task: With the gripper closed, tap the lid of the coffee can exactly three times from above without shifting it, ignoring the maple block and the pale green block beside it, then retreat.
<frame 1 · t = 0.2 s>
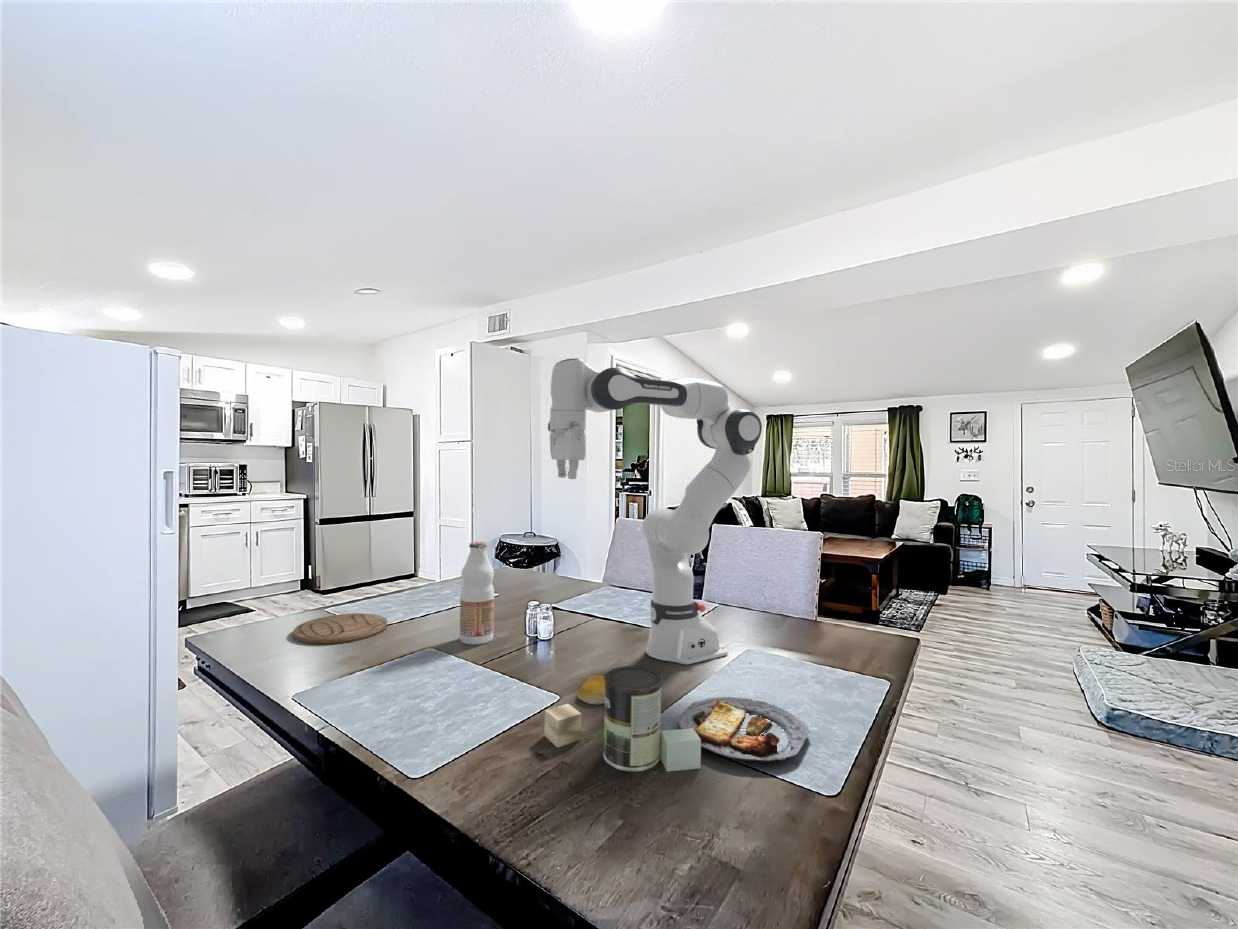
hand: (566, 478, 136), 48 cm above the table, fingers open, 8 cm apart
food plate: (741, 736, 104), on the table
fruit juice: (476, 640, 155), on the table
pale green block: (680, 764, 94), on the table
trivet: (341, 632, 161), on the table
coffee can: (631, 756, 96), on the table
bread roll: (596, 697, 120), on the table
maple block: (562, 738, 102), on the table
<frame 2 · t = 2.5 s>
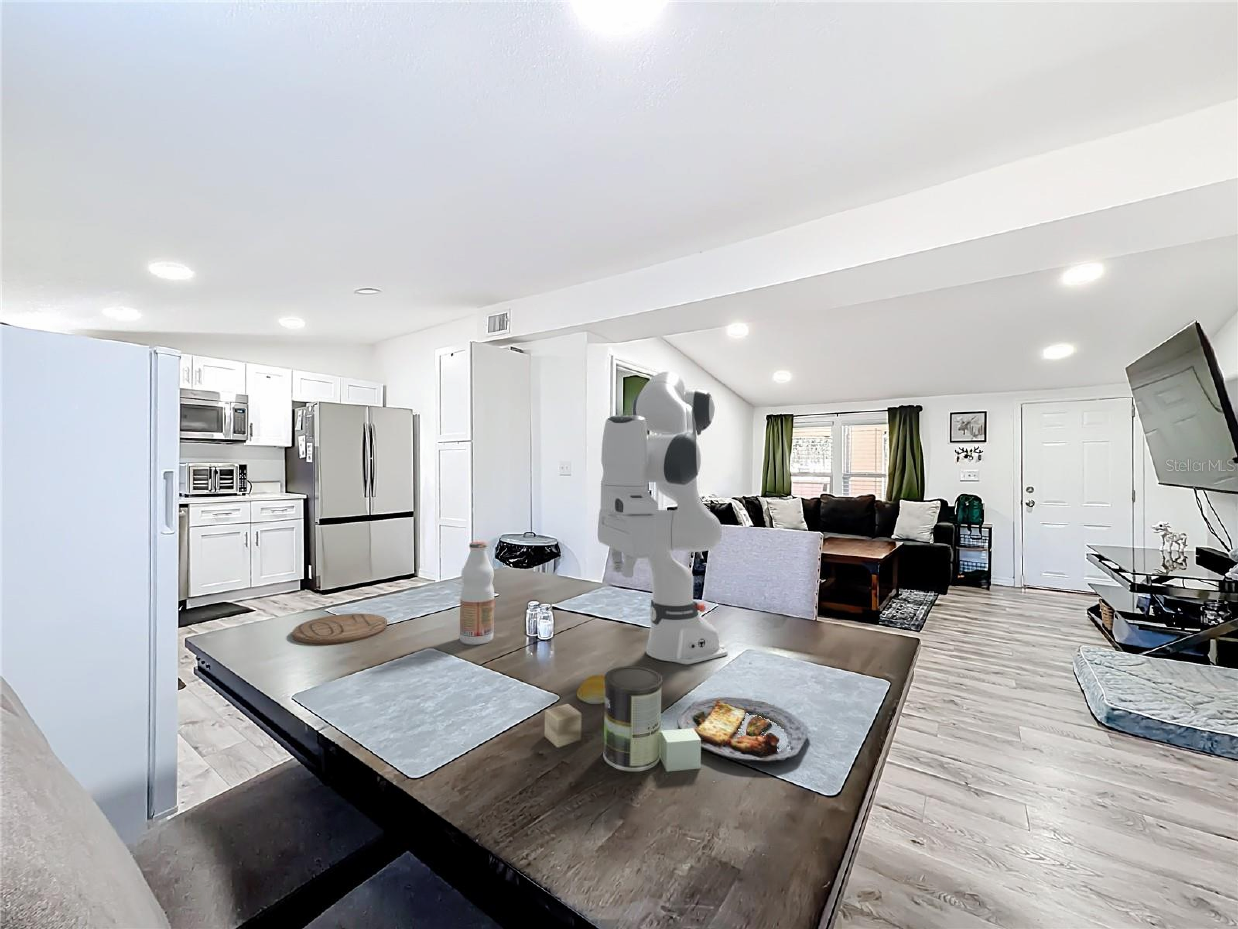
hand: (622, 574, 101), 31 cm above the table, fingers open, 3 cm apart
nothing on the table moved.
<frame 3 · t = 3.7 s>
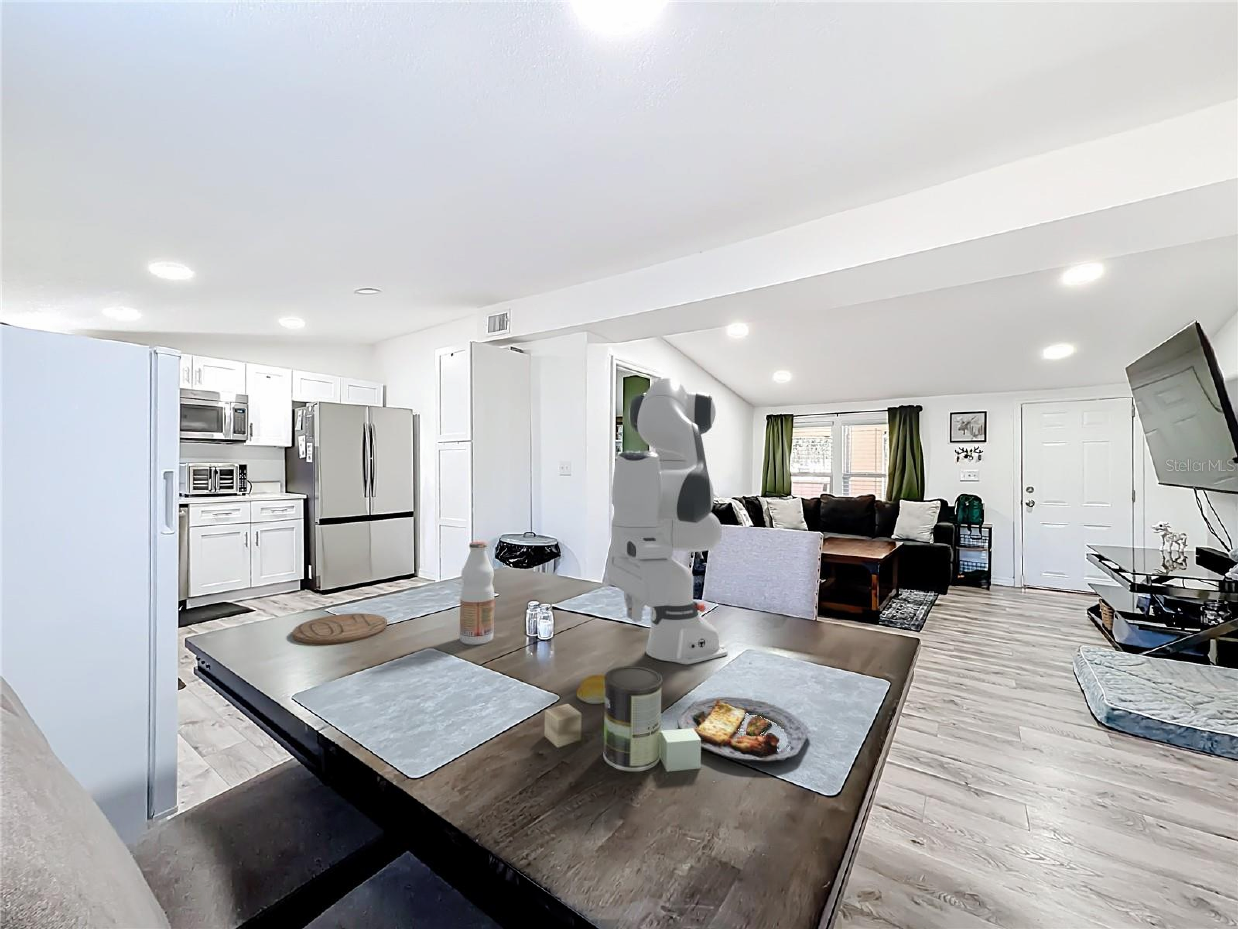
hand: (634, 619, 96), 24 cm above the table, fingers closed
nothing on the table moved.
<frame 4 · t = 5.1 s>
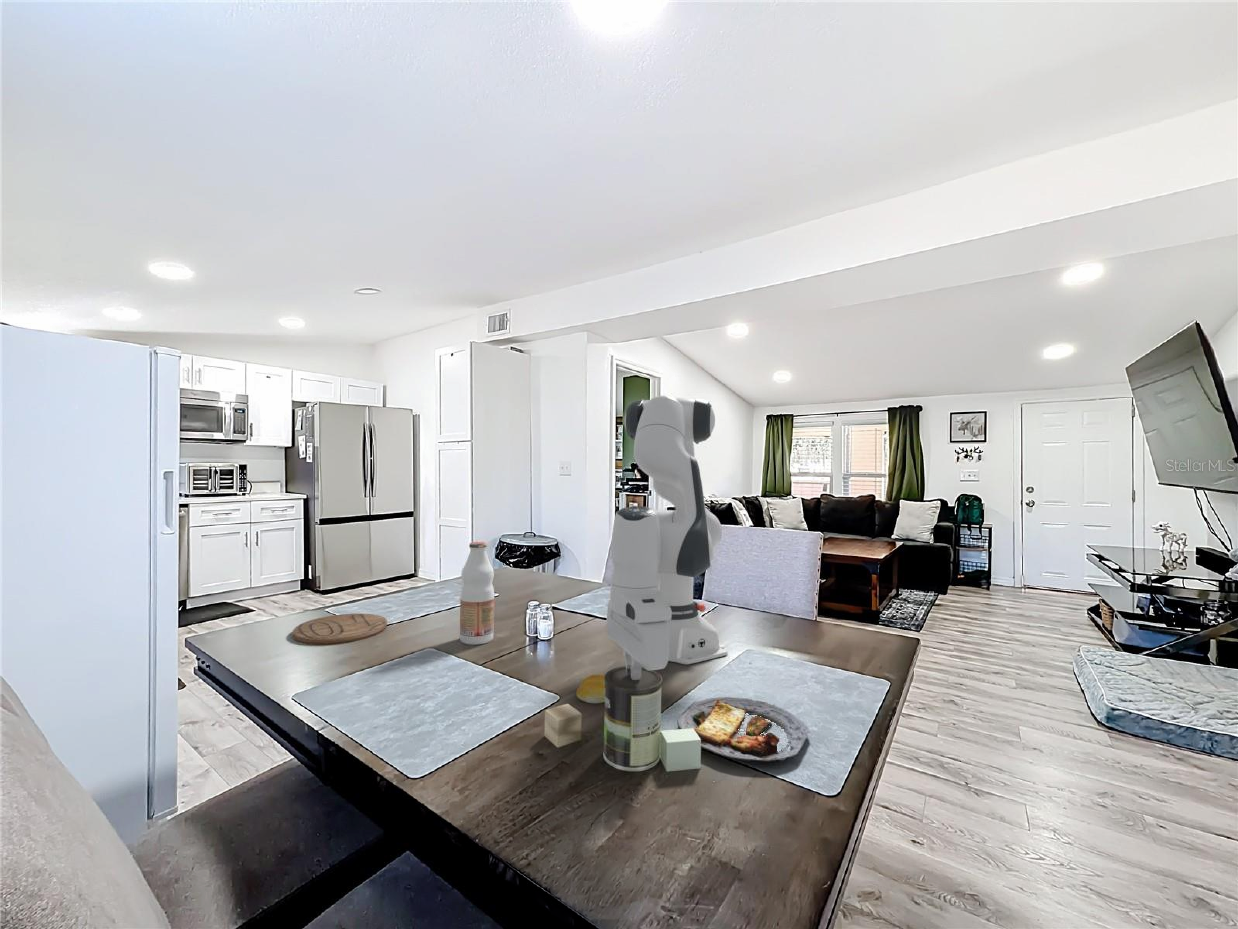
hand: (633, 676, 96), 14 cm above the table, fingers closed, pressing on coffee can
coffee can: (631, 756, 96), on the table, touching gripper
everything else where it was.
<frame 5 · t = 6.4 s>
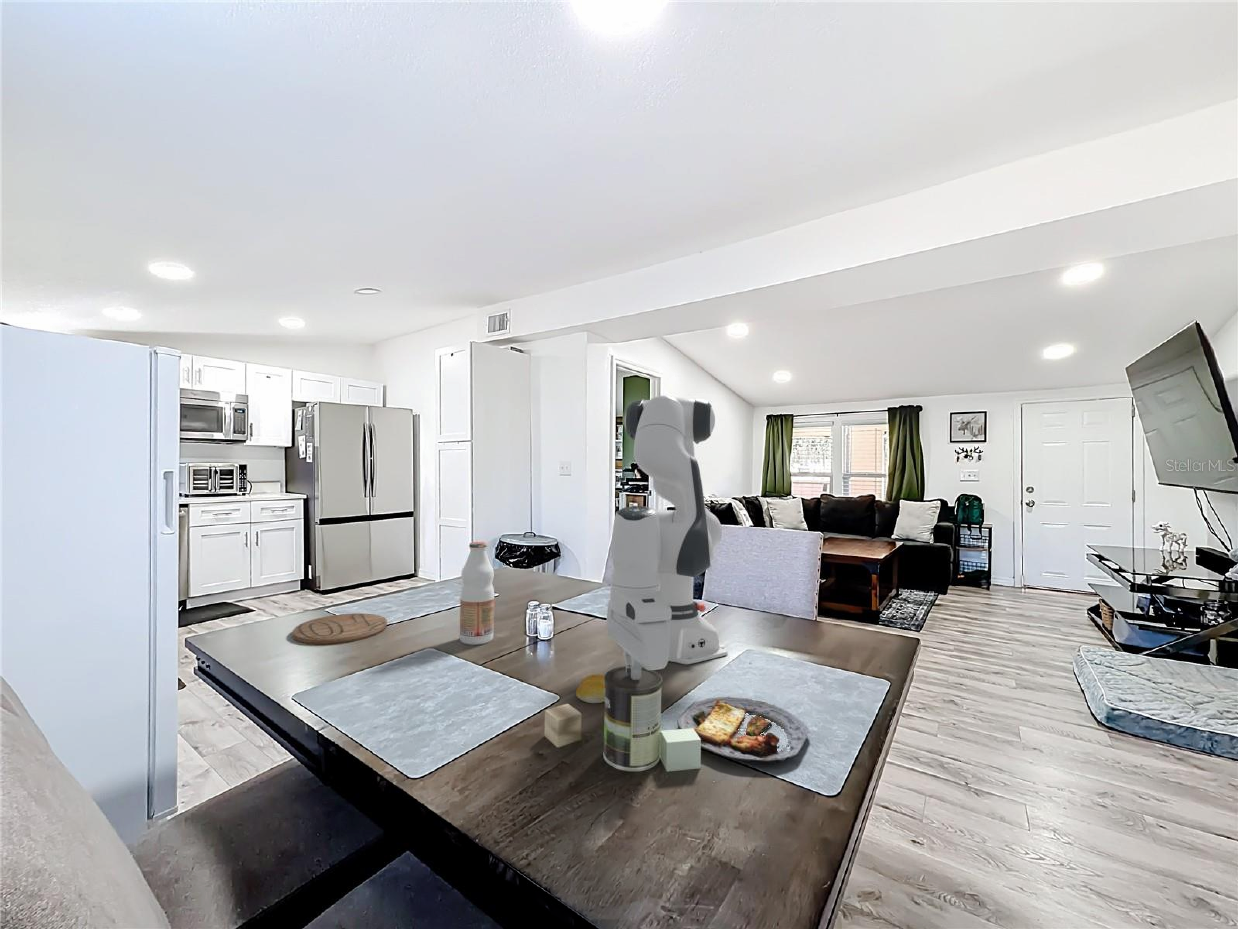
hand: (633, 676, 96), 14 cm above the table, fingers closed, pressing on coffee can
coffee can: (631, 756, 96), on the table, touching gripper
everything else where it was.
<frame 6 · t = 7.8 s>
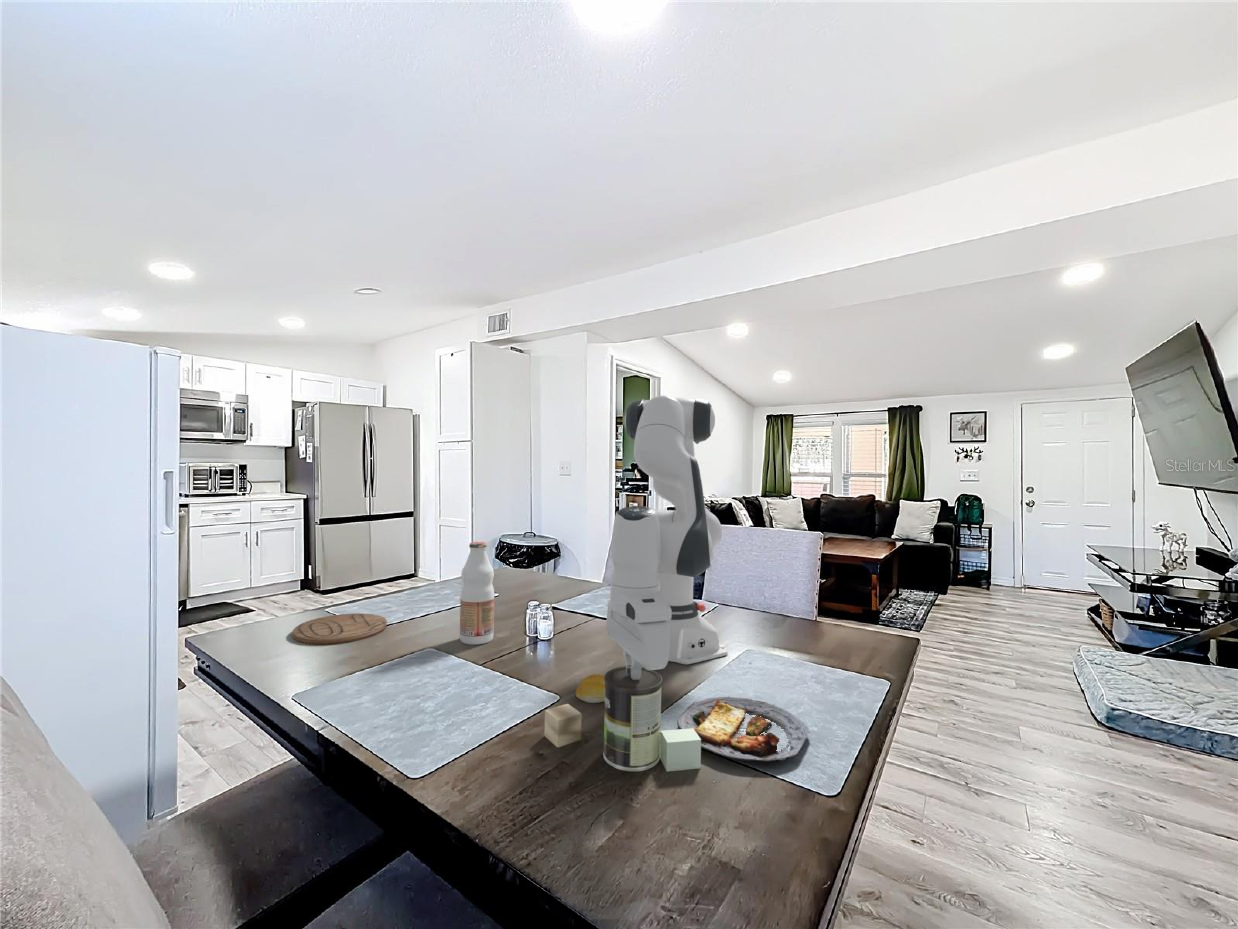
hand: (633, 676, 96), 14 cm above the table, fingers closed, pressing on coffee can
coffee can: (631, 756, 96), on the table, touching gripper
everything else where it was.
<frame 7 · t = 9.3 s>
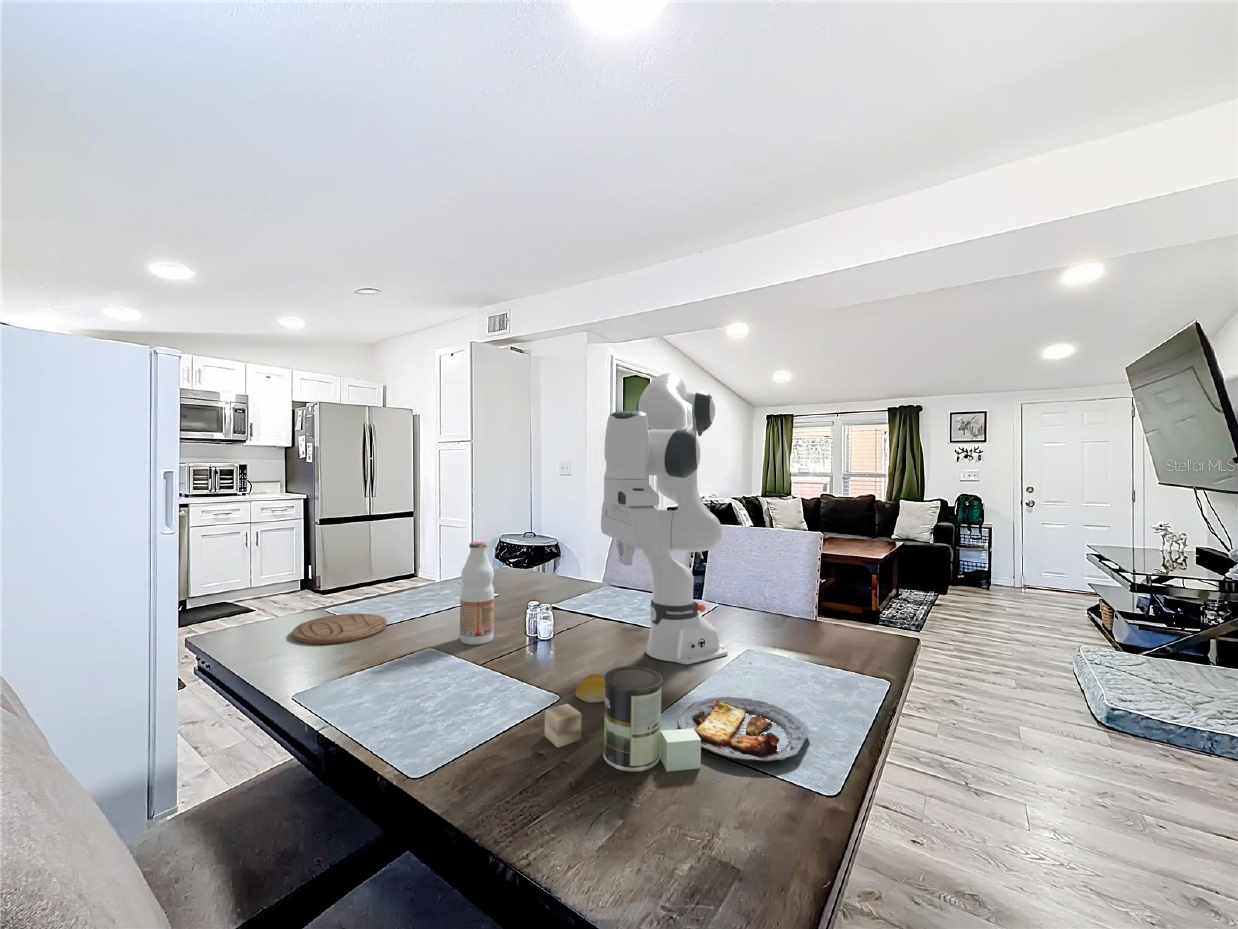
hand: (625, 564, 105), 32 cm above the table, fingers closed
coffee can: (631, 756, 96), on the table
everything else where it was.
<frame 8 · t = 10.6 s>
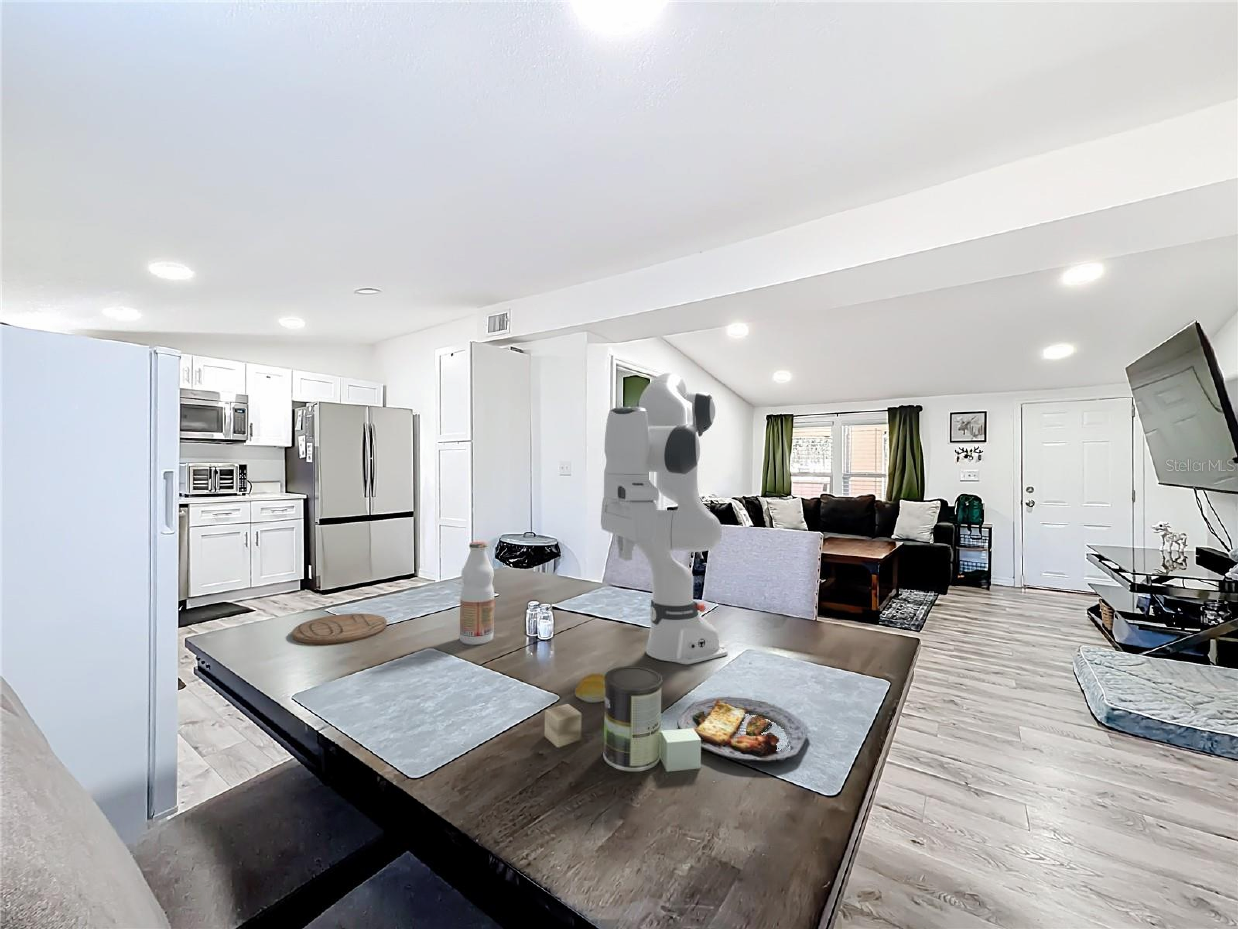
hand: (625, 559, 106), 33 cm above the table, fingers closed
at the end: coffee can moved 0.2 cm from its start; coffee can tilted 0°; maple block moved 0.1 cm from its start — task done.
